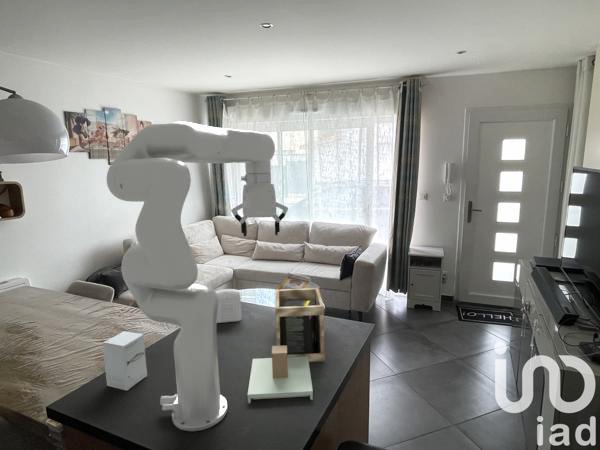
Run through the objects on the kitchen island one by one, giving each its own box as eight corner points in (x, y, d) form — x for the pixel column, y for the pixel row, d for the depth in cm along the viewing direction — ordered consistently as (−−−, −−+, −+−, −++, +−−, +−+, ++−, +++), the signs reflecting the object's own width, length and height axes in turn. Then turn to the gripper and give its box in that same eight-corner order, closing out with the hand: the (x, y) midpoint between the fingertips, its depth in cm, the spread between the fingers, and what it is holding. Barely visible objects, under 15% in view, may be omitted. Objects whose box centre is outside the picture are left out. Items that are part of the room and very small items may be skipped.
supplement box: (127, 391, 94) (122, 346, 92) (106, 386, 96) (101, 342, 94) (148, 376, 100) (144, 333, 98) (128, 371, 103) (123, 330, 101)
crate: (277, 363, 105) (275, 308, 103) (277, 337, 121) (276, 289, 118) (324, 361, 106) (324, 306, 103) (319, 336, 122) (318, 288, 119)
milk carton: (320, 324, 131) (319, 274, 128) (301, 334, 123) (300, 281, 120) (298, 316, 138) (297, 269, 135) (279, 326, 130) (277, 275, 127)
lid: (247, 403, 88) (246, 368, 86) (253, 366, 104) (251, 336, 103) (312, 400, 89) (312, 364, 87) (308, 364, 105) (307, 333, 103)
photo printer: (241, 317, 139) (239, 286, 137) (242, 321, 135) (240, 290, 133) (214, 319, 137) (212, 288, 135) (213, 324, 133) (211, 292, 131)
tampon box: (311, 359, 107) (310, 312, 105) (281, 356, 109) (279, 311, 107) (316, 341, 118) (316, 299, 116) (289, 339, 120) (288, 297, 117)
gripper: (228, 180, 104) (231, 238, 107) (287, 179, 105) (289, 236, 108) (231, 179, 112) (234, 233, 114) (286, 178, 113) (288, 232, 115)
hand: (260, 235), depth 111 cm, fingers open, 9 cm apart
